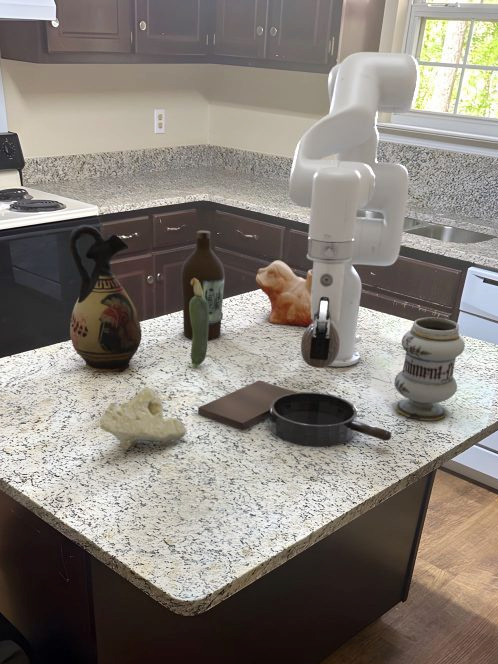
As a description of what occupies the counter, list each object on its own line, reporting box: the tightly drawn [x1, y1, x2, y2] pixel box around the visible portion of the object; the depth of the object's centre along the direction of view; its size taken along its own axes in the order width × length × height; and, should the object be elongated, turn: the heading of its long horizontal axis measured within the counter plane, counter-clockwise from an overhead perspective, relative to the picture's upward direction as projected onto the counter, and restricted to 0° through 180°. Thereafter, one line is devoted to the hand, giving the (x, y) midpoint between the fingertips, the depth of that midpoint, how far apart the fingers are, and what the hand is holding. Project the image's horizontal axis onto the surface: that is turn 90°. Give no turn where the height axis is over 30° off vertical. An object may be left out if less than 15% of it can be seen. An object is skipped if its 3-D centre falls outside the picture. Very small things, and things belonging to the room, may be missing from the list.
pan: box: [268, 391, 358, 447], centre depth 136 cm, size 16×16×4 cm
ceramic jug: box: [67, 224, 143, 374], centre depth 154 cm, size 17×15×30 cm
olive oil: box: [180, 230, 226, 341], centre depth 178 cm, size 11×11×25 cm
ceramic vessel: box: [255, 259, 313, 328], centre depth 194 cm, size 14×26×15 cm, turn 75°
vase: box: [300, 316, 340, 369], centre depth 129 cm, size 7×7×9 cm
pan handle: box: [349, 420, 392, 442], centre depth 129 cm, size 2×8×2 cm, turn 51°
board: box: [197, 380, 297, 431], centre depth 144 cm, size 20×11×2 cm, turn 141°
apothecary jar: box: [394, 316, 466, 421], centre depth 141 cm, size 12×12×18 cm
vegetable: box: [189, 278, 209, 368], centre depth 158 cm, size 4×4×20 cm
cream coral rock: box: [99, 386, 187, 451], centre depth 128 cm, size 15×7×15 cm
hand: (319, 350), depth 130 cm, fingers closed on vase, 7 cm apart
